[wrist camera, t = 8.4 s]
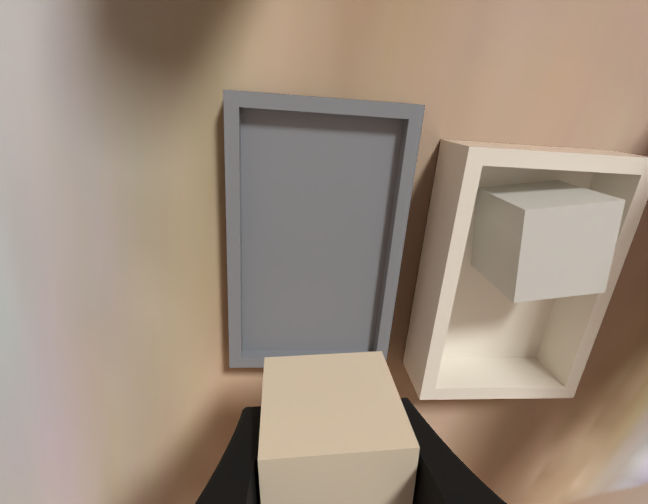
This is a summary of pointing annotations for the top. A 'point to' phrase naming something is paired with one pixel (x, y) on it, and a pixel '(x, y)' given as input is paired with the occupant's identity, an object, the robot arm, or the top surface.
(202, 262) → the top surface
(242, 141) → the slate tray
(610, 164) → the cream dish
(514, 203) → the light gray cube
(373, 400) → the beige cube
